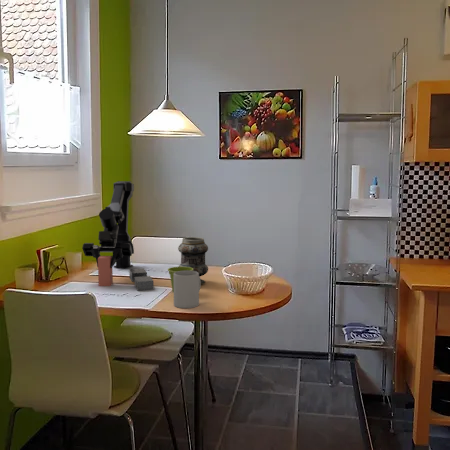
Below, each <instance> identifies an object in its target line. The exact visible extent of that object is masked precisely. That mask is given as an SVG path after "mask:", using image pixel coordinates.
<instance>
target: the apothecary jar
mask: <svg viewBox="0 0 450 450" xmlns="http://www.w3.org/2000/svg"><path fill="white" fill-rule="evenodd" d="M177 251H178V252H179V253H180V258H181V259H180V264H179V265H178V266H177V267H191V268H193V271H196V272H198V273H199V276H200V277H203V276H204V275H206V274H207V273H208V272H209V266H208V264H206V253H207V252H208V251H209V246H208V245H207V244H206V243H205V239H204V237H200V236H199V237H198V236H186V237H183V238H182V241H181V243H180V244H179V245H178V247H177ZM200 281H201V286H203V285H205V284H206V280H204V279H202V278H200Z"/></svg>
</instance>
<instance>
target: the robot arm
mask: <svg viewBox="0 0 450 450" xmlns="http://www.w3.org/2000/svg"><path fill="white" fill-rule="evenodd" d="M134 191H135V184H134V183H132V181H131V180H130V181H129V180H128V181H127V180H122V181H120V180H118V181H116V182H113V192H112V196H111V200H110V203H109V205H107V206H105V207H104V209H102V210H100V212H99V213H98V216H99V220H100V222H101V226H102V227H103V230H100V231H98V243H99V245H95V244H94V242H85V243H83V244H82V251H83V253H84V256H86V257H93V258H94V259H95V260H96V266H97V268H98V258H99V257H100V256H101V253H112V255H111V256H112V259H111V263H110V268H112V269H113V268H116V269H117V268H118V269H128V268H131V267H134V264H131V257H132V255H133V254H135V250H134V249H135V248H134V244H133V242H132V237H131V236H130V234H129V233H128V232H129V231H128V230H129V229H128V227H129V202H130V200H131V198H132V197H133V193H134Z"/></svg>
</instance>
